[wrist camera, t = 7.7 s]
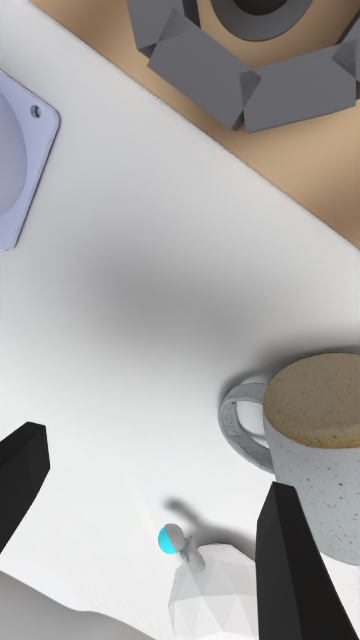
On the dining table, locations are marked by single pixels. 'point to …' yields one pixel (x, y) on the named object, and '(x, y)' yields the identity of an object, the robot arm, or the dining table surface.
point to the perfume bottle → (211, 590)
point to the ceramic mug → (310, 443)
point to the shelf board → (255, 51)
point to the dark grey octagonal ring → (244, 70)
